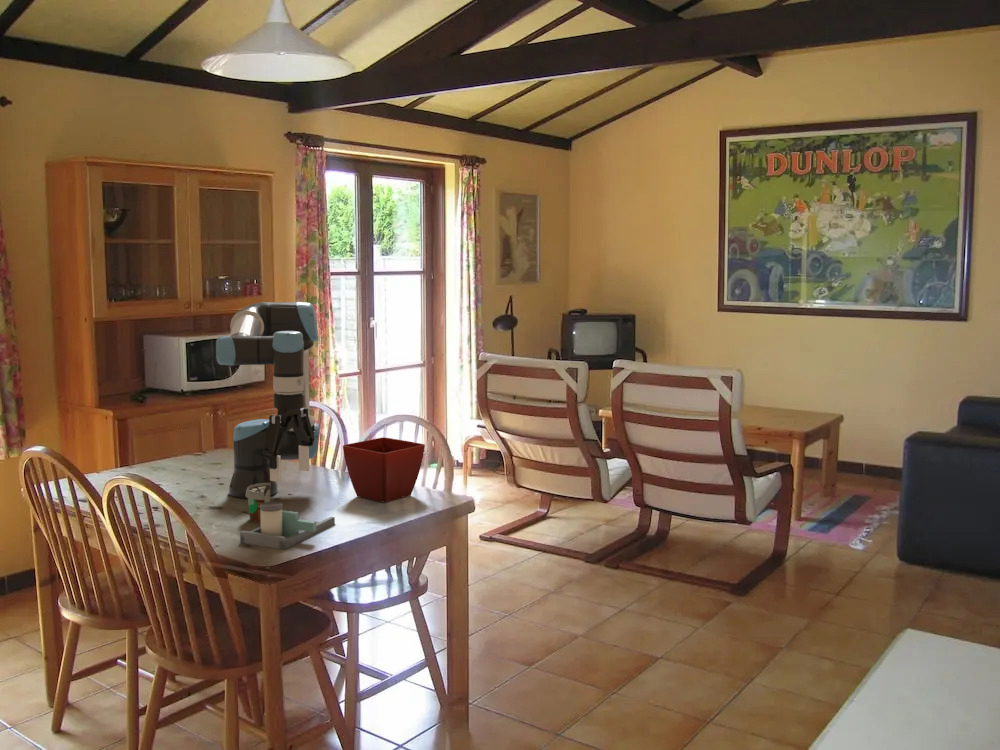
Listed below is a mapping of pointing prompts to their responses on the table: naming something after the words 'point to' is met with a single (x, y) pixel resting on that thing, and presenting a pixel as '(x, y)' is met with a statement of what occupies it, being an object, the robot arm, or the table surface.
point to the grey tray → (279, 541)
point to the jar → (271, 518)
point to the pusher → (295, 524)
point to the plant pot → (383, 467)
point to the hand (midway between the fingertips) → (290, 475)
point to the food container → (257, 499)
